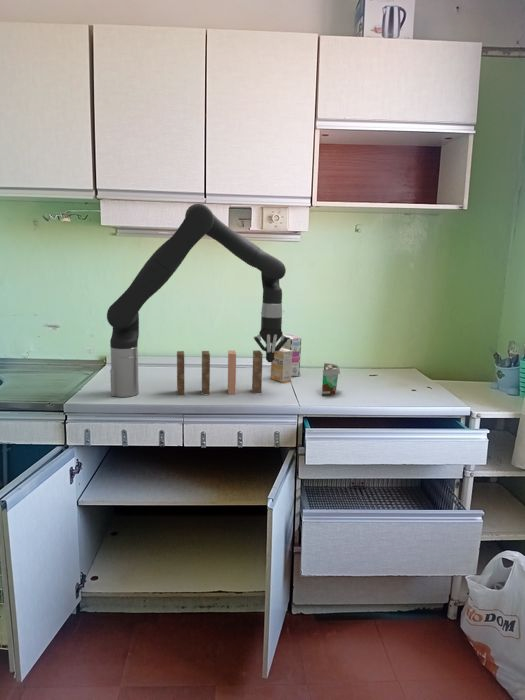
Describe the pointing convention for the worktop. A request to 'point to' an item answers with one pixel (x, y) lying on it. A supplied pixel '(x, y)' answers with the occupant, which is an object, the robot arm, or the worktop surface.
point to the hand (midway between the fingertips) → (269, 361)
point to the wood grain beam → (257, 371)
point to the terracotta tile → (231, 372)
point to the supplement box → (282, 365)
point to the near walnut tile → (180, 372)
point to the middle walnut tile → (205, 372)
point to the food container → (330, 379)
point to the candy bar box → (294, 353)
